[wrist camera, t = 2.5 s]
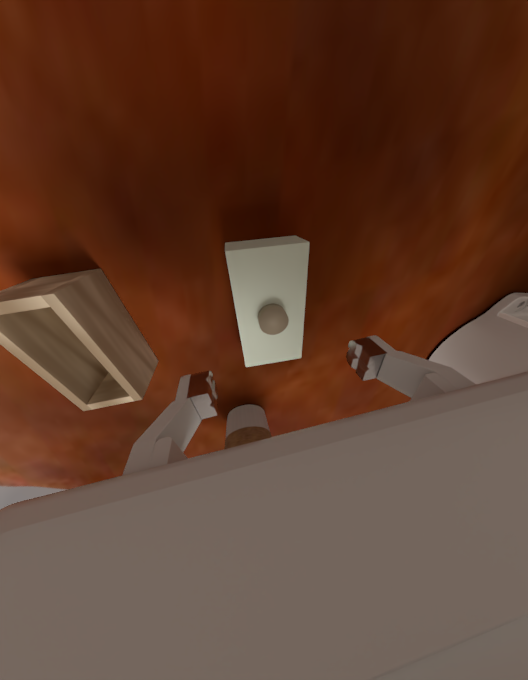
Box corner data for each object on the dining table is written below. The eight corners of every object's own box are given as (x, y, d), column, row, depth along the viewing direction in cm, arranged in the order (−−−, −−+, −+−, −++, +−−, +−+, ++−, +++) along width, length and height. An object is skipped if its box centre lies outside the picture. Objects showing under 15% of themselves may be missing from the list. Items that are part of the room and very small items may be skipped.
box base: (100, 268, 14) (53, 293, 10) (158, 361, 20) (142, 399, 17) (31, 278, 14) (-44, 308, 10) (111, 370, 20) (83, 411, 16)
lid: (294, 234, 16) (315, 244, 12) (291, 337, 22) (304, 364, 18) (224, 242, 15) (224, 254, 11) (243, 345, 22) (246, 374, 18)
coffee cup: (214, 403, 26) (205, 568, 15) (272, 395, 28) (308, 541, 16) (223, 433, 32) (222, 573, 20) (272, 424, 33) (299, 553, 21)
